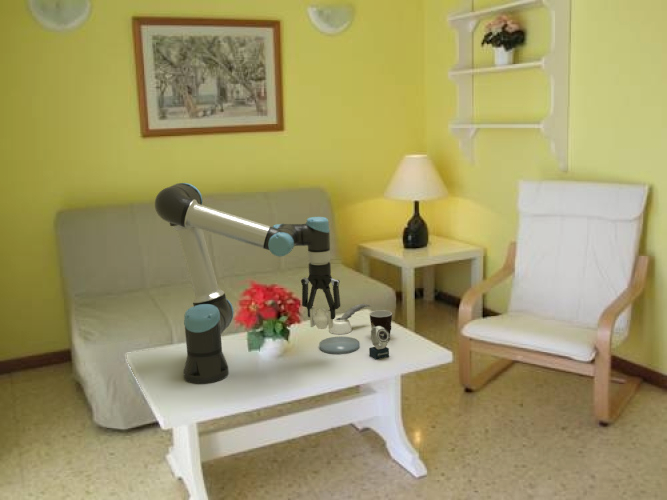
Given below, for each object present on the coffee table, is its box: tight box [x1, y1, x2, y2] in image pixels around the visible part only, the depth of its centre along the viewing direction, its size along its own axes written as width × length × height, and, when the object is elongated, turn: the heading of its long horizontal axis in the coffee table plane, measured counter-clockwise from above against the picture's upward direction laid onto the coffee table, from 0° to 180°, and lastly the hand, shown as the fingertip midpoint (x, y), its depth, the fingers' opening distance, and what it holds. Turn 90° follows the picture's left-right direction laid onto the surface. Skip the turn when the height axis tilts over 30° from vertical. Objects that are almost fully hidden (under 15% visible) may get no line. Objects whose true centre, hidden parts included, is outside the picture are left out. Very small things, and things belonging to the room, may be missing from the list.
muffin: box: [313, 308, 329, 330], centre depth 242 cm, size 6×6×7 cm
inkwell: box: [328, 303, 371, 335], centre depth 278 cm, size 9×18×10 cm, turn 113°
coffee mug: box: [369, 309, 393, 341], centre depth 264 cm, size 12×9×10 cm
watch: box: [368, 326, 391, 361], centre depth 247 cm, size 6×8×11 cm
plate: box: [318, 336, 361, 355], centre depth 259 cm, size 15×15×2 cm
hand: (321, 326), depth 243 cm, fingers closed on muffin, 6 cm apart
